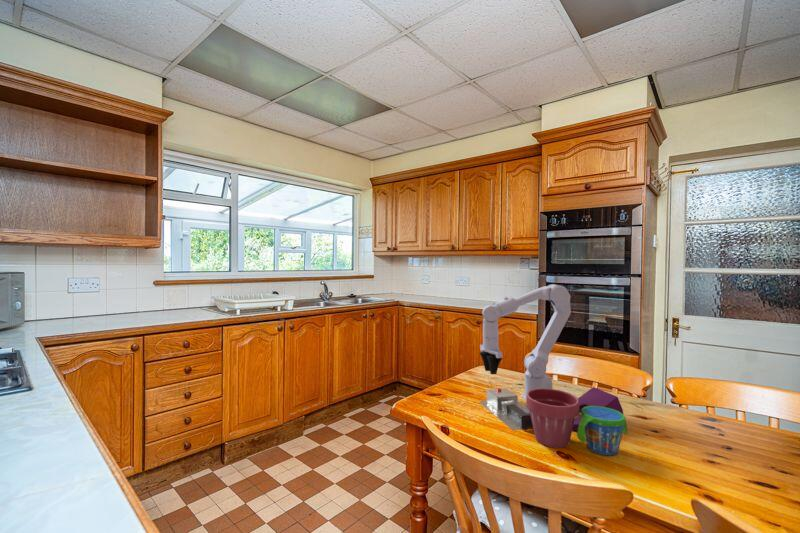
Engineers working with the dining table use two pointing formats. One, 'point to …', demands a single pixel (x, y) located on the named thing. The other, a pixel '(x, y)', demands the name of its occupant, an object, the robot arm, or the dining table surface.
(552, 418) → the plant pot
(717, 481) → the dining table surface
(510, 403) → the block
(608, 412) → the snack cup
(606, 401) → the mounting bracket
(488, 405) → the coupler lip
